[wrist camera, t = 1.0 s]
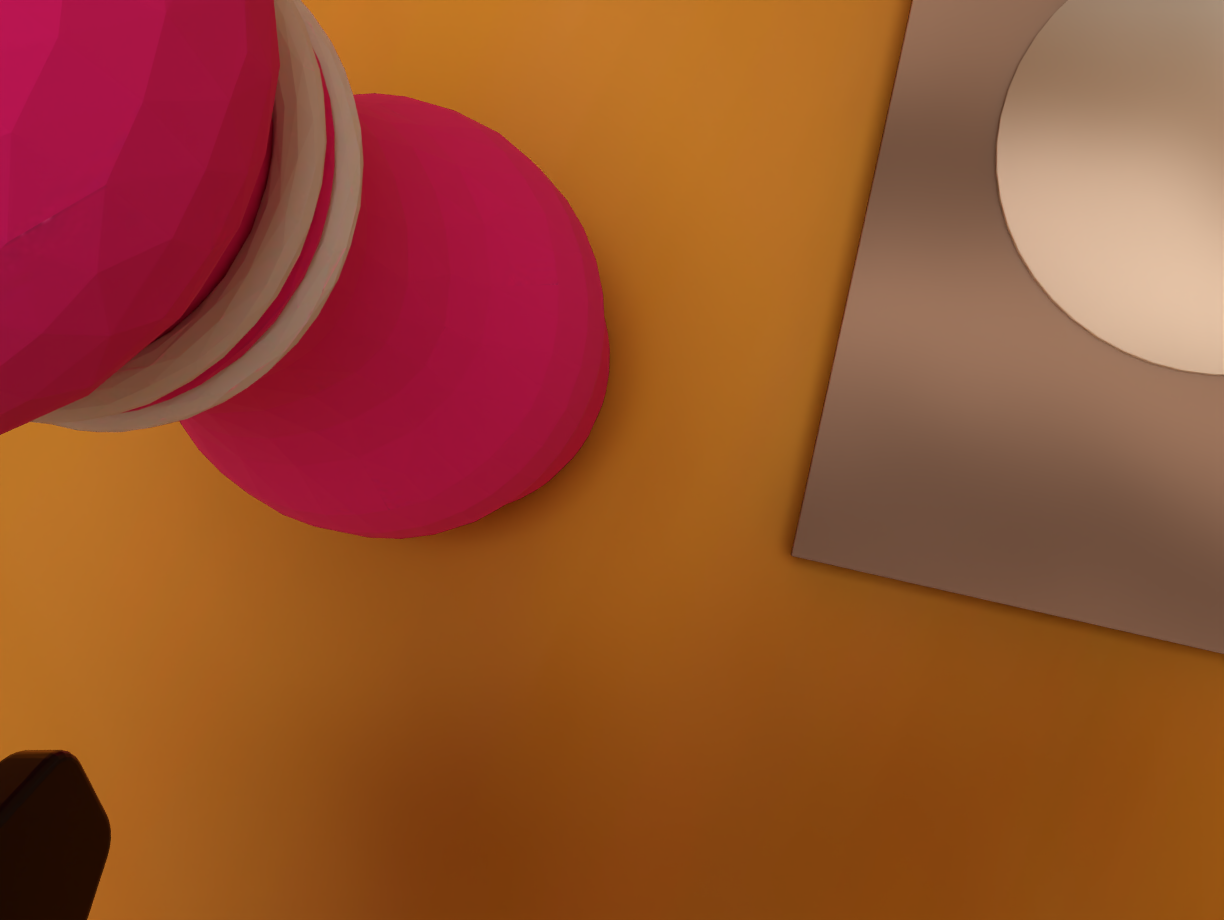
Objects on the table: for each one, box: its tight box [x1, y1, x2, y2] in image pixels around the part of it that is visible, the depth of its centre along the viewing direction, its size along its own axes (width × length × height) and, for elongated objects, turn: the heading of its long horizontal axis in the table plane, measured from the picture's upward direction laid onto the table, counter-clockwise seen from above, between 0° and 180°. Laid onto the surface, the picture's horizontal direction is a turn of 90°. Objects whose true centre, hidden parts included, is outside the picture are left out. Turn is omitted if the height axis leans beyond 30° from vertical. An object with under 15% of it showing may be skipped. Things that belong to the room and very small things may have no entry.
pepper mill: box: [0, 0, 610, 539], centre depth 13 cm, size 7×7×20 cm
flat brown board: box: [791, 0, 1224, 654], centre depth 20 cm, size 14×12×4 cm
